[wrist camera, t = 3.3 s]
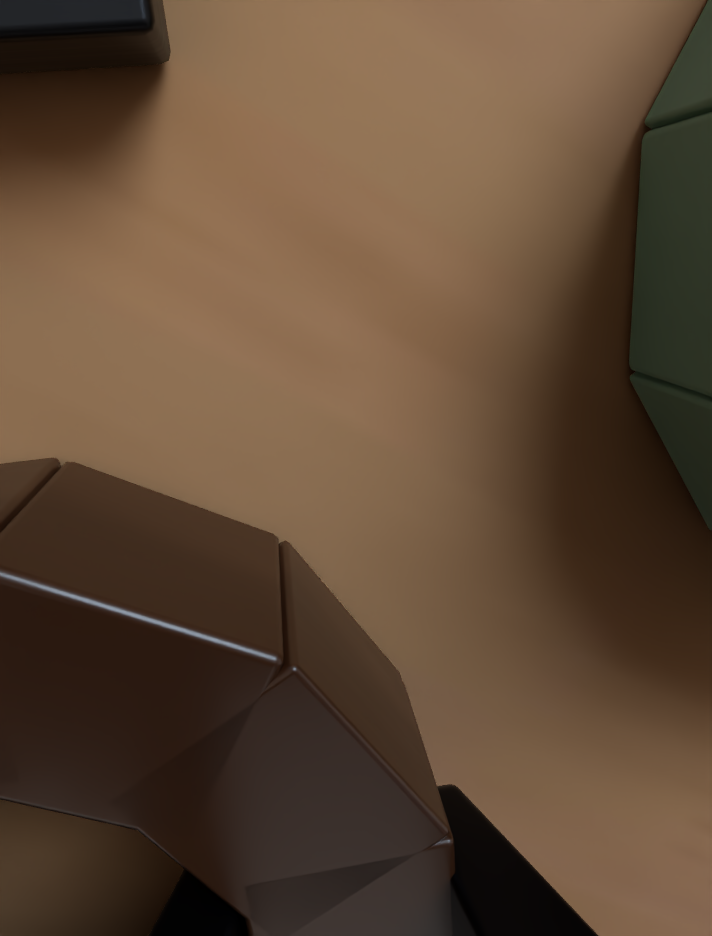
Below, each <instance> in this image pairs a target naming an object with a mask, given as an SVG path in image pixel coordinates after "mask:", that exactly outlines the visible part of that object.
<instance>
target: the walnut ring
mask: <svg viewBox="0 0 712 936" xmlns="http://www.w3.org/2000/svg"><path fill="white" fill-rule="evenodd" d="M0 799H1V800H5V801H10V802H14V803H19V804H23V805H28V806H32V807H37V808H41V809H45V810H50V811H54V812H59V813H63V814H68V815H72V816H77V817H81V818H85V819H90V820H94V821H99V822H103V823H108V824H112V825H117V826H121V827H126V828H130V829H134V830H138V831H139V832H140V833H142V834H143V835H144V836H145V837H146V838H148V839H149V840H150V841H151V842H153V843H154V844H155V845H156V846H157V847H159V848H160V849H161V850H162V851H163V852H165V853H166V854H167V855H168V856H170V857H171V858H172V859H173V860H174V861H176V862H177V863H178V864H179V865H180V866H182V867H183V868H184V869H185V870H187V871H188V872H189V873H190V874H191V875H193V876H194V877H195V878H196V879H197V880H199V881H200V882H201V883H202V884H204V885H205V886H206V887H207V888H208V889H210V890H211V891H212V892H213V893H215V894H216V895H217V896H218V897H219V898H221V899H222V900H223V901H224V902H225V903H227V904H228V905H229V906H230V907H232V908H233V909H234V910H235V911H236V912H238V913H239V914H240V915H241V916H242V917H244V918H245V923H246V928H247V933H248V936H453V929H452V908H451V888H450V881H451V878H452V876H453V875H454V874H455V850H454V838H453V835H452V832H451V829H450V826H449V823H448V820H447V816H446V813H445V810H444V807H443V804H442V801H441V798H440V794H439V791H438V788H437V785H436V782H435V779H434V776H433V772H432V769H431V766H430V763H429V760H428V757H427V754H426V750H425V747H424V744H423V741H422V738H421V735H420V732H419V729H418V725H417V722H416V719H415V716H414V713H413V710H412V707H411V703H410V700H409V697H408V694H407V691H406V688H405V685H404V683H403V681H402V679H401V675H400V673H399V671H398V670H397V669H396V668H395V667H394V666H393V664H392V663H391V662H390V661H389V660H388V658H387V657H386V656H385V655H384V654H383V653H382V651H381V650H380V649H379V648H378V647H377V645H376V644H375V643H374V642H373V641H372V640H371V638H370V637H369V636H368V635H367V634H366V633H365V631H364V630H363V629H362V628H361V627H360V625H359V624H358V623H357V622H356V621H355V620H354V618H353V617H352V616H351V615H350V614H349V612H348V611H347V610H346V609H345V608H344V607H343V605H342V604H341V603H340V602H339V601H338V600H337V598H336V597H335V596H334V595H333V594H332V592H331V591H330V590H329V589H328V588H327V587H326V585H325V584H324V583H323V582H322V581H321V580H320V578H319V577H318V576H317V575H316V574H315V572H314V571H313V570H312V569H311V568H310V567H309V565H308V564H307V563H306V562H305V561H304V559H303V558H302V557H301V556H300V555H299V554H298V552H297V551H296V550H295V549H294V548H293V547H292V545H291V544H290V543H288V542H287V541H283V542H281V543H280V544H279V543H278V538H277V537H276V536H275V535H274V534H272V533H269V532H266V531H263V530H260V529H258V528H255V527H252V526H249V525H247V524H244V523H241V522H238V521H236V520H233V519H230V518H227V517H224V516H222V515H219V514H216V513H213V512H211V511H208V510H205V509H202V508H199V507H197V506H194V505H191V504H188V503H186V502H183V501H180V500H177V499H174V498H172V497H169V496H166V495H163V494H161V493H158V492H155V491H152V490H149V489H147V488H144V487H141V486H138V485H136V484H133V483H130V482H127V481H124V480H122V479H119V478H116V477H113V476H111V475H108V474H105V473H102V472H99V471H97V470H94V469H91V468H88V467H86V466H83V465H80V464H77V463H74V462H66V463H65V464H64V465H63V466H62V467H61V465H60V462H59V460H58V459H56V458H46V459H38V460H30V461H21V462H13V463H5V464H0Z"/></svg>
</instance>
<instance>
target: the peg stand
mask: <svg viewBox="0 0 712 936" xmlns="http://www.w3.org/2000/svg"><path fill="white" fill-rule="evenodd" d="M170 52H171V51H170V45H169V39H168V32H167V26H166V19H165V13H164V6H163V0H0V74H6V73H23V72H39V71H56V70H73V69H89V68H106V67H123V66H139V65H156V64H163V63H165V62H166V61H168V60H169V56H170Z"/></svg>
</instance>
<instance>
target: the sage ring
mask: <svg viewBox="0 0 712 936" xmlns="http://www.w3.org/2000/svg"><path fill="white" fill-rule="evenodd" d="M645 124H646V126H648V127H649V128H651V129H652V130H650V131H648V132H647V133H645V134H644V137H643V139H642V148H641V165H640V182H639V199H638V216H637V233H636V250H635V267H634V285H633V302H632V319H631V336H630V353H629V365H630V368H631V369H632V370H634V371H636V372H635V373H633V374H632V375H631V376H630V381H631V383H632V385H633V386H634V388H635V390H636V392H637V394H638V396H639V398H640V400H641V402H642V403H643V405H644V407H645V409H646V411H647V413H648V415H649V417H650V419H651V420H652V422H653V424H654V426H655V428H656V430H657V432H658V434H659V436H660V438H661V439H662V441H663V443H664V445H665V447H666V449H667V451H668V453H669V455H670V456H671V458H672V460H673V462H674V464H675V466H676V468H677V470H678V472H679V473H680V475H681V477H682V479H683V481H684V483H685V485H686V487H687V489H688V490H689V492H690V494H691V496H692V498H693V500H694V502H695V504H696V506H697V507H698V509H699V511H700V513H701V515H702V517H703V519H704V521H705V523H706V524H707V526H708V528H709V529H710V530H711V531H712V0H708V2H707V4H706V6H705V7H704V9H703V11H702V13H701V15H700V17H699V19H698V21H697V23H696V24H695V26H694V28H693V30H692V32H691V34H690V36H689V38H688V40H687V42H686V43H685V45H684V47H683V49H682V51H681V53H680V55H679V57H678V59H677V60H676V62H675V64H674V66H673V68H672V70H671V72H670V74H669V76H668V78H667V79H666V81H665V83H664V85H663V87H662V89H661V91H660V93H659V95H658V96H657V98H656V100H655V102H654V104H653V106H652V108H651V110H650V112H649V114H648V115H647V117H646V119H645Z"/></svg>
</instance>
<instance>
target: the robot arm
mask: <svg viewBox="0 0 712 936" xmlns="http://www.w3.org/2000/svg"><path fill="white" fill-rule="evenodd" d="M437 788H438V791H439V794H440V798H441V801H442V804H443V807H444V810H445V813H446V816H447V820H448V823H449V826H450V829H451V832H452V835H453V838H454V850H455V874H454V875H453V876H452V878H451V881H450V888H451V908H452V929H453V936H598V935H597V934H596V933H595V932H594V930H593V929H592V928H591V927H590V926H589V925H588V924H587V923H586V922H585V921H584V920H583V919H582V918H581V917H580V916H579V915H578V914H577V913H576V912H575V910H574V909H573V908H572V907H571V906H570V905H569V904H568V903H567V902H566V901H565V900H564V899H563V898H562V897H561V896H560V895H559V894H558V893H557V892H556V890H555V889H554V888H553V887H552V886H551V885H550V884H549V883H548V882H547V881H546V880H545V879H544V878H543V877H542V876H541V875H540V874H539V873H538V871H537V870H536V869H535V868H534V867H533V866H532V865H531V864H530V863H529V862H528V861H527V860H526V859H525V858H524V857H523V856H522V855H521V854H520V853H519V851H518V850H517V849H516V848H515V847H514V846H513V845H512V844H511V843H510V842H509V841H508V840H507V839H506V838H505V837H504V836H503V835H502V834H501V833H500V831H499V830H498V829H497V828H496V827H495V826H494V825H493V824H492V823H491V822H490V821H489V820H488V819H487V818H486V817H485V816H484V815H483V814H482V812H481V811H480V810H479V809H478V808H477V807H476V806H475V805H474V804H473V803H472V802H471V801H470V800H469V799H468V798H467V797H466V796H465V795H464V794H463V792H462V791H461V790H460V789H459V788H458V787H456V786H454V785H452V784H448V785H442V786H437ZM148 936H248V933H247V928H246V923H245V918H244V917H242V916H241V915H240V914H239V913H238V912H236V911H235V910H234V909H233V908H232V907H230V906H229V905H228V904H227V903H225V902H224V901H223V900H222V899H221V898H219V897H218V896H217V895H216V894H215V893H213V892H212V891H211V890H210V889H208V888H207V887H206V886H205V885H204V884H202V883H201V882H200V881H199V880H197V879H196V878H195V877H194V876H193V875H191V874H190V873H189V872H188V871H187V870H184V871H183V873H182V875H181V877H180V879H179V881H178V882H177V884H176V886H175V888H174V890H173V892H172V893H171V895H170V897H169V899H168V901H167V902H166V904H165V906H164V908H163V910H162V912H161V913H160V915H159V917H158V919H157V921H156V923H155V924H154V926H153V928H152V930H151V932H150V934H149V935H148Z"/></svg>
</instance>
